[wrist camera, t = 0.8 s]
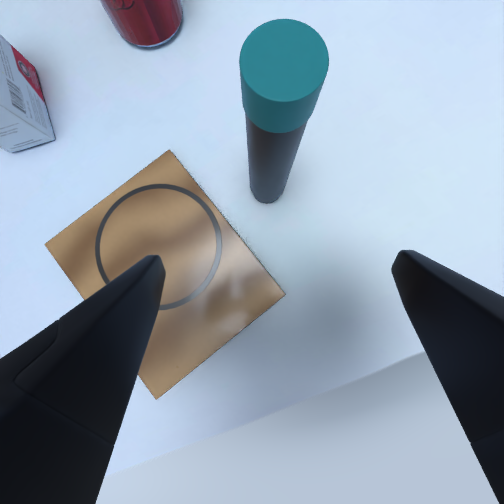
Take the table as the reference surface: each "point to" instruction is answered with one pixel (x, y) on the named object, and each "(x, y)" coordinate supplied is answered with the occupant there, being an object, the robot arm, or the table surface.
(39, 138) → the ink box
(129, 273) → the robot arm
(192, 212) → the sketch board
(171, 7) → the soda can
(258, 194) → the disc
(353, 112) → the table surface
